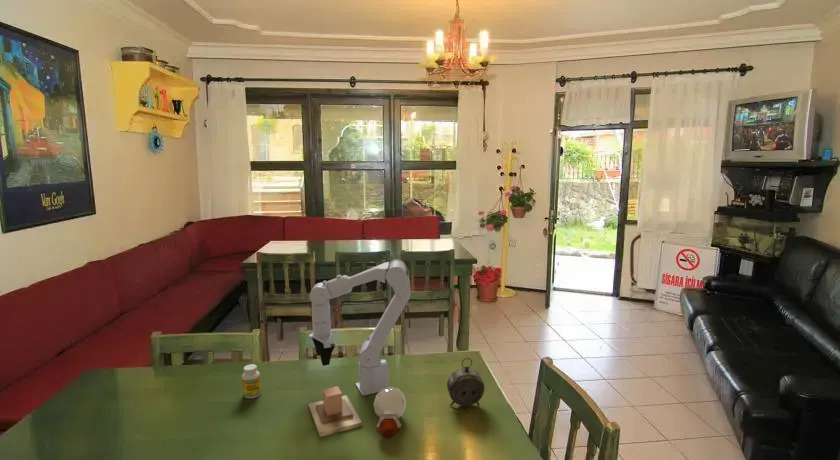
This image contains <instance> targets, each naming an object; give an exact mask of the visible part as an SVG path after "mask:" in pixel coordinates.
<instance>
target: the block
mask: <svg viewBox="0 0 840 460" xmlns="http://www.w3.org/2000/svg"><path fill="white" fill-rule="evenodd" d="M342 396H343V393H342V390H341V389H340V388H339V386H336V385H335V386H333V387H332V386H331V387H327V388H323V389H322V401H323V405H324V410H325V412H326V414H327V416H329V415H333V414H337V413H341V412H343V411H342Z"/></svg>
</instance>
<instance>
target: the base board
mask: <svg viewBox="0 0 840 460" xmlns="http://www.w3.org/2000/svg"><path fill="white" fill-rule="evenodd" d="M308 410H309V413H310V415H311V417H312V420H313V422H314V425H315V427H316V430H317V432H318V435H319V437H322V438H323V437H325V436H329V435H333V434H336V433H337V434H338V433H341V432H344V431H348V430H353V429H355V428H359V427H360V428H361V427H363V424H362V423H363V422H362V421H361V418H360V417H359V415H358V413H357V411H356V410H355V408H354V406H353V404H352V402H351V400H350V399H349V397H348V395H346V394H345V395H342V411H343V412H341V413H337V414H333V415H329V416H327V414H326V412H325V410H324V405H323V400H319V401H314V402H310V403H308Z"/></svg>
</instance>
